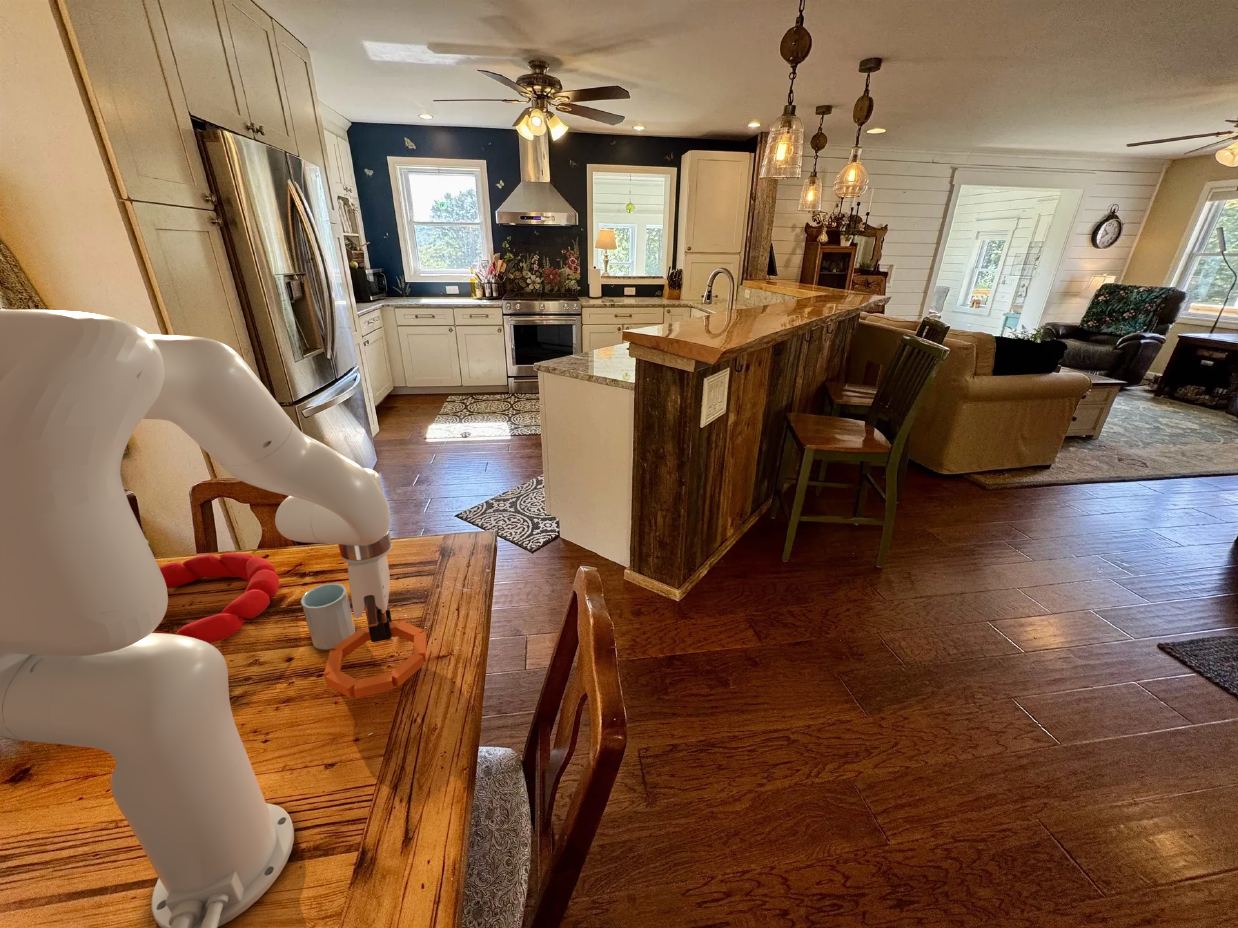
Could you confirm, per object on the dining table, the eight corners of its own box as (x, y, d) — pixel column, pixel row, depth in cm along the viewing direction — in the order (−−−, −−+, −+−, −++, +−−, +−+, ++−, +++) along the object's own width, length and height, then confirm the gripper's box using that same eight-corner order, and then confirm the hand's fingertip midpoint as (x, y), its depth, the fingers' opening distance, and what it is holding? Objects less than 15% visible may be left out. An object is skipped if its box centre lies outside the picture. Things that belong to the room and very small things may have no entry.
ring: (426, 682, 77) (424, 673, 76) (319, 706, 72) (317, 696, 71) (426, 623, 90) (425, 615, 89) (336, 640, 85) (334, 631, 84)
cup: (352, 644, 87) (342, 603, 84) (308, 653, 85) (296, 611, 82) (357, 619, 93) (348, 580, 90) (316, 627, 91) (305, 587, 87)
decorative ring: (271, 534, 111) (80, 568, 94) (283, 606, 89) (36, 667, 71) (276, 562, 114) (91, 600, 96) (288, 638, 91) (50, 705, 74)
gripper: (346, 524, 85) (364, 611, 92) (330, 573, 72) (352, 672, 78) (393, 518, 88) (407, 603, 95) (386, 565, 74) (403, 661, 81)
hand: (382, 634), depth 86 cm, fingers closed on ring, 1 cm apart
